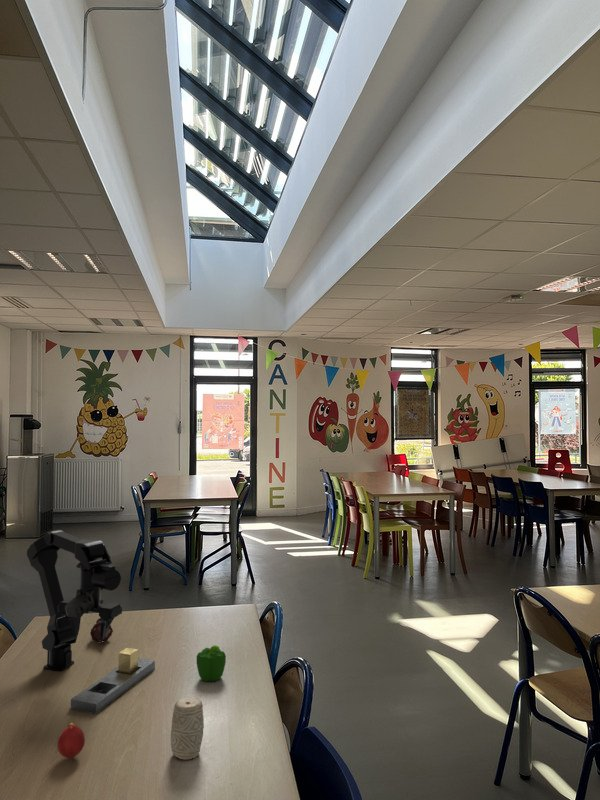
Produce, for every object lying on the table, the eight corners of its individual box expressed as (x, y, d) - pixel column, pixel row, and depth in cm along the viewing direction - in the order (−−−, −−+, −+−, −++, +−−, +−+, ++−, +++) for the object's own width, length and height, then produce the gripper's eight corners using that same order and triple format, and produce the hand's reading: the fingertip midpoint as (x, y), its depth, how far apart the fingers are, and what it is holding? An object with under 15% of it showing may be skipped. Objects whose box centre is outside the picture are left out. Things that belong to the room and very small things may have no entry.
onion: (62, 751, 132) (62, 716, 132) (87, 750, 132) (88, 715, 132) (53, 766, 126) (54, 730, 126) (80, 765, 126) (80, 729, 127)
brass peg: (118, 680, 167) (118, 652, 167) (126, 674, 171) (126, 647, 171) (129, 682, 166) (130, 654, 166) (137, 676, 170) (138, 649, 170)
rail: (70, 708, 151) (70, 699, 151) (132, 665, 177) (132, 657, 177) (96, 713, 148) (96, 704, 148) (154, 668, 175) (154, 660, 175)
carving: (204, 760, 129) (204, 706, 129) (169, 764, 127) (170, 710, 128) (202, 744, 135) (203, 693, 135) (170, 748, 134) (171, 696, 134)
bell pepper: (191, 676, 170) (192, 643, 170) (215, 669, 175) (216, 636, 175) (204, 687, 163) (205, 652, 164) (229, 680, 168) (230, 645, 169)
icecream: (119, 627, 192) (110, 617, 205) (97, 625, 188) (89, 615, 201) (113, 649, 190) (105, 637, 203) (91, 647, 187) (84, 636, 200)
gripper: (45, 588, 164) (43, 643, 164) (99, 595, 158) (98, 652, 158) (71, 578, 175) (70, 629, 174) (123, 584, 169) (122, 637, 169)
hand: (89, 637), depth 168 cm, fingers open, 9 cm apart
